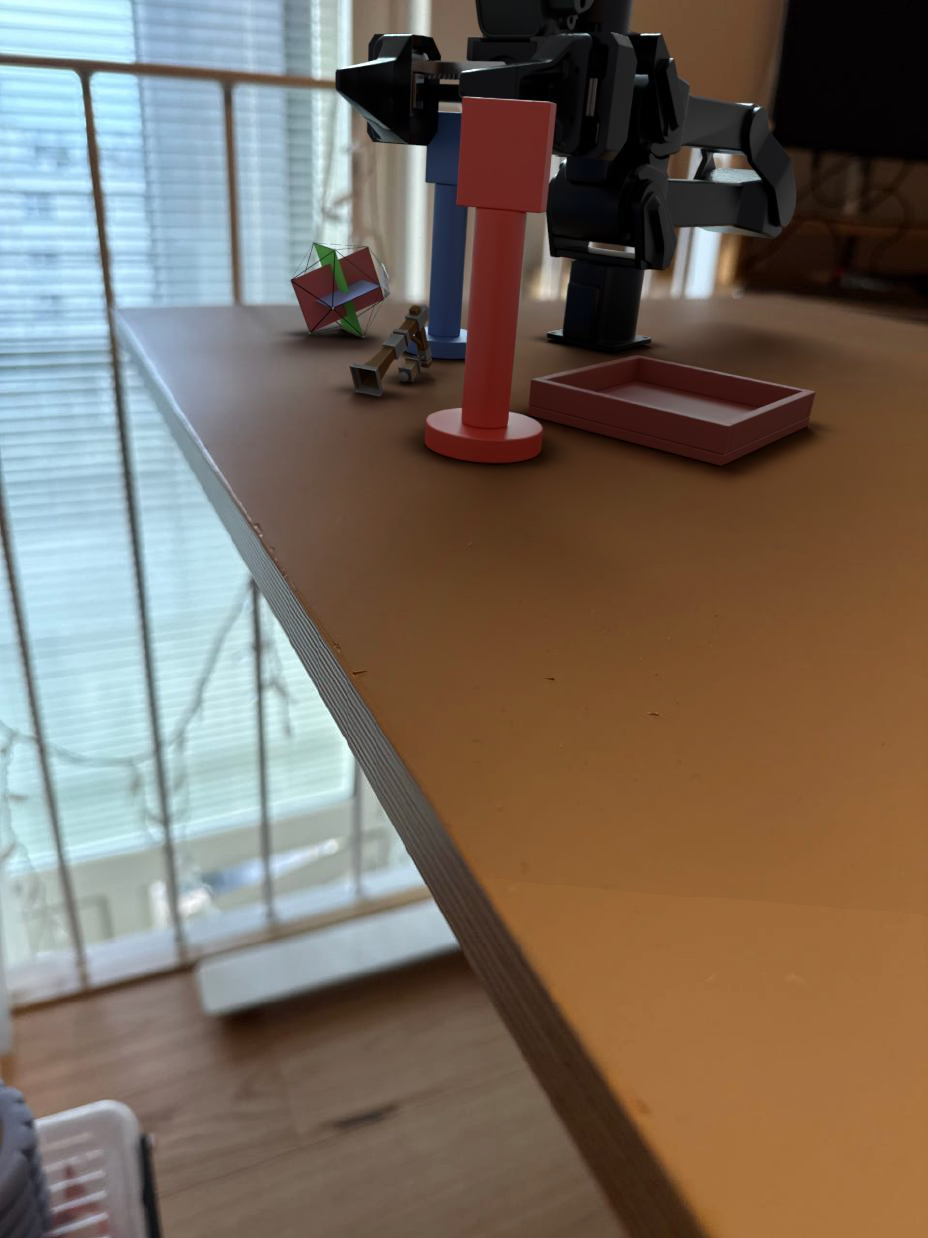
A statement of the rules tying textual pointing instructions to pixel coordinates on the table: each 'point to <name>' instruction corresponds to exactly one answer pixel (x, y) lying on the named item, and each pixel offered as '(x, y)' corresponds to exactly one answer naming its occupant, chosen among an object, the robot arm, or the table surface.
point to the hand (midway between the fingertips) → (396, 81)
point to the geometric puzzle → (339, 289)
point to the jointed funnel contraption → (396, 354)
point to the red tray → (672, 407)
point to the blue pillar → (446, 243)
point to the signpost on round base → (496, 274)
